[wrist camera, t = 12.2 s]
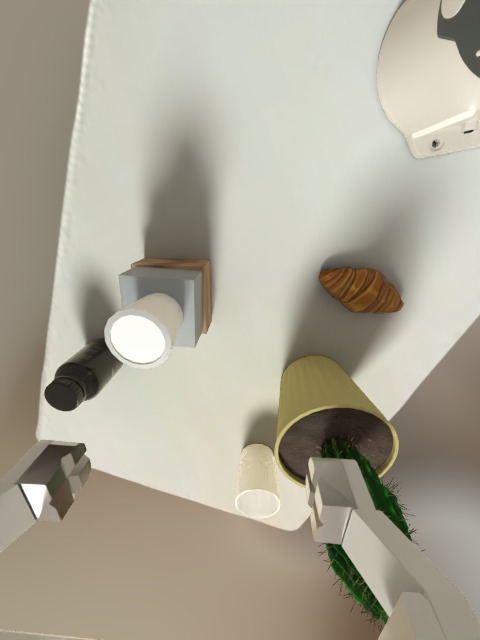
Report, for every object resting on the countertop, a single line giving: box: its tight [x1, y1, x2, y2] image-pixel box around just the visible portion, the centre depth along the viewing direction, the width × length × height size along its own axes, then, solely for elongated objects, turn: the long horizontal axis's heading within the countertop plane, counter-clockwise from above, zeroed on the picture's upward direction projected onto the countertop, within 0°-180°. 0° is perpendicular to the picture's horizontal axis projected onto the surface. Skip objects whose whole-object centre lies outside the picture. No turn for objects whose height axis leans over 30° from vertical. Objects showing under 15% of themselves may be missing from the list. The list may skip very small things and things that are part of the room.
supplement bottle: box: [44, 339, 123, 411], centre depth 41 cm, size 7×7×12 cm
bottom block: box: [131, 258, 211, 334], centre depth 39 cm, size 10×10×5 cm
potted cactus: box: [274, 355, 414, 624], centre depth 33 cm, size 15×15×30 cm
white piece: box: [104, 293, 183, 369], centre depth 29 cm, size 7×7×7 cm
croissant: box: [319, 267, 404, 314], centre depth 37 cm, size 14×7×5 cm, turn 69°
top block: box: [118, 266, 202, 347], centre depth 35 cm, size 9×9×5 cm
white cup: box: [235, 444, 280, 518], centre depth 50 cm, size 8×8×10 cm
